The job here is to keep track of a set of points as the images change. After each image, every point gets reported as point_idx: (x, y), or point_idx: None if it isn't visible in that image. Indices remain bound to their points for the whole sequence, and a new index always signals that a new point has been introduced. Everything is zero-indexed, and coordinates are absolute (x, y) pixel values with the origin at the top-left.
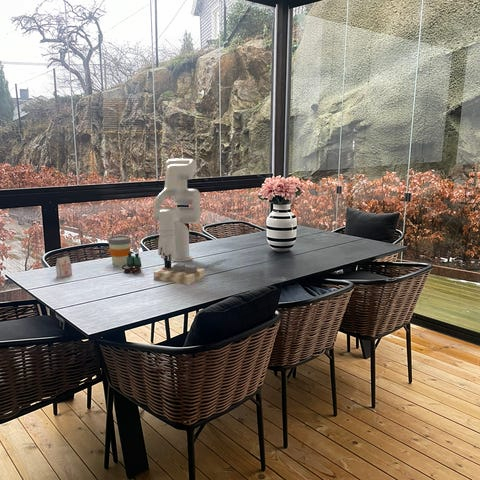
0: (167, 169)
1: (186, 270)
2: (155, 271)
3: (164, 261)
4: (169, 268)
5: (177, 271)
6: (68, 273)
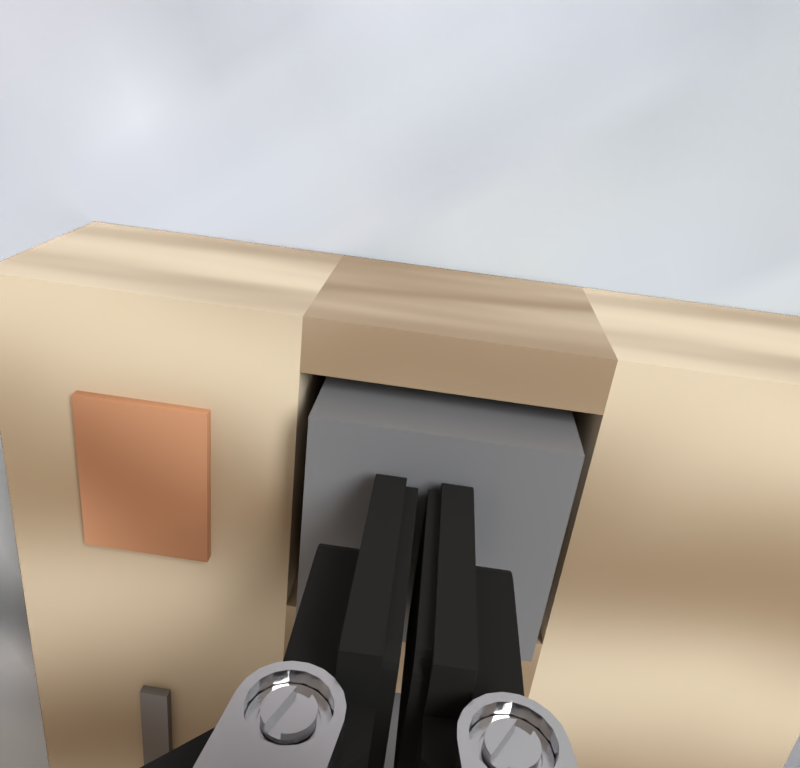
0: None
1: None
2: (39, 302)
3: (349, 606)
4: None
5: None
6: None
